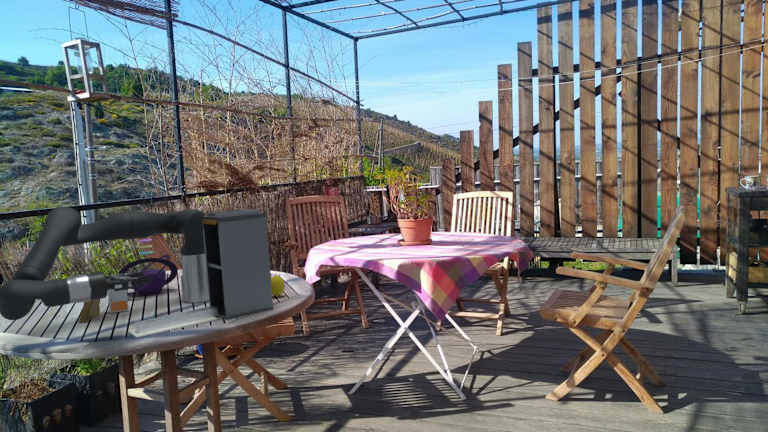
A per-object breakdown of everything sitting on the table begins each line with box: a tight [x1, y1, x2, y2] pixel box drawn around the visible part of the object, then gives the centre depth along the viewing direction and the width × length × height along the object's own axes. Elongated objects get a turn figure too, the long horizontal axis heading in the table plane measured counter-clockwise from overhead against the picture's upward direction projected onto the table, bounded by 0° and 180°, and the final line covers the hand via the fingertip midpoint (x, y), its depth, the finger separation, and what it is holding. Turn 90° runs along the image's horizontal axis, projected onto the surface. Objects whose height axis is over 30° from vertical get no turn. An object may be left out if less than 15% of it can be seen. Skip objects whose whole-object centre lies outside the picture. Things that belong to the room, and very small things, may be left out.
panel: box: [134, 306, 218, 333], centre depth 167 cm, size 24×4×2 cm, turn 130°
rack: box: [202, 208, 274, 320], centre depth 178 cm, size 17×14×33 cm
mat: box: [127, 316, 219, 339], centre depth 166 cm, size 24×9×1 cm, turn 129°
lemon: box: [271, 274, 285, 298], centre depth 196 cm, size 6×6×8 cm
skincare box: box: [107, 289, 130, 314], centre depth 188 cm, size 6×4×12 cm
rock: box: [78, 299, 101, 323], centre depth 180 cm, size 10×8×10 cm
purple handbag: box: [118, 237, 179, 297], centre depth 213 cm, size 22×21×25 cm
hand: (147, 277), depth 160 cm, fingers open, 8 cm apart
